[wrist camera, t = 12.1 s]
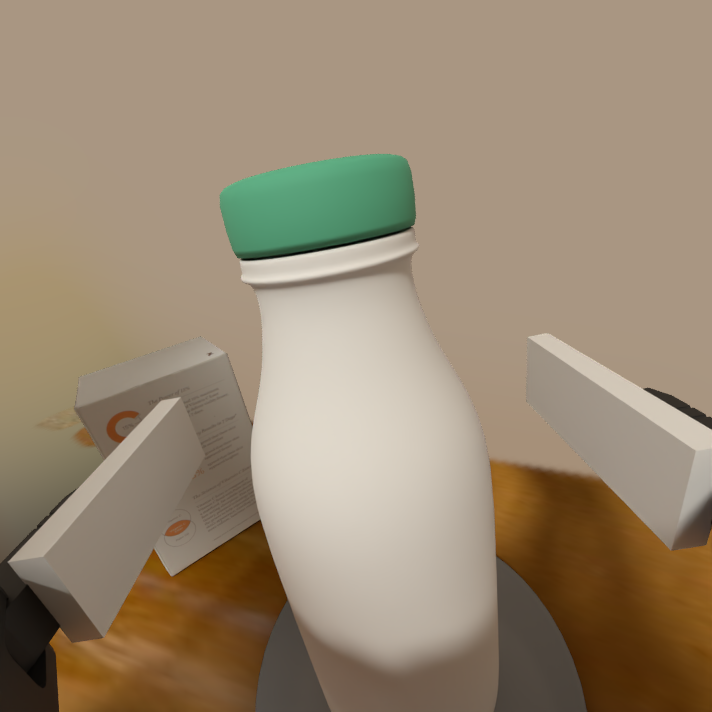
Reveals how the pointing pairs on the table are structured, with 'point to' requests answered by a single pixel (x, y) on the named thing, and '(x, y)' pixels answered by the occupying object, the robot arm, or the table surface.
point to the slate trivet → (516, 659)
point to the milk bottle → (366, 443)
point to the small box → (213, 428)
